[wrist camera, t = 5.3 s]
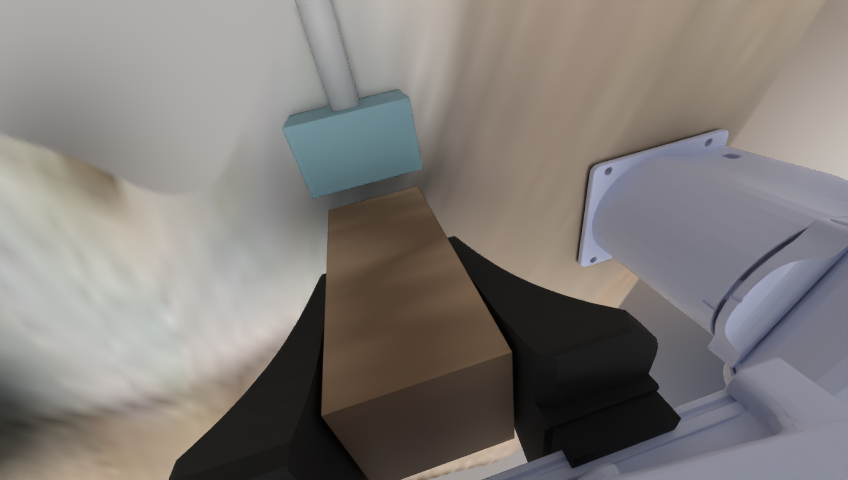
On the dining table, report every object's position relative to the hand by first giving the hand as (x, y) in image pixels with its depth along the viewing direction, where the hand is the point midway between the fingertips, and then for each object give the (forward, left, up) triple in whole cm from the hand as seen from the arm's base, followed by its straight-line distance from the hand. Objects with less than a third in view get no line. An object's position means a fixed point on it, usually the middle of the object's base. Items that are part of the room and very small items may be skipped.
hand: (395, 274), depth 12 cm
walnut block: (0, 0, -3) cm, 3 cm away
